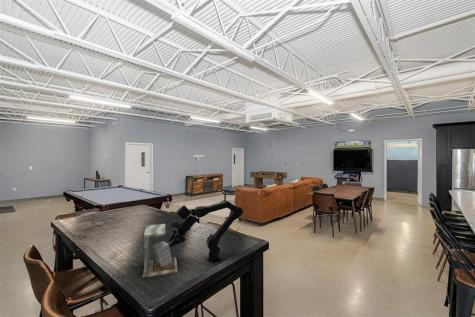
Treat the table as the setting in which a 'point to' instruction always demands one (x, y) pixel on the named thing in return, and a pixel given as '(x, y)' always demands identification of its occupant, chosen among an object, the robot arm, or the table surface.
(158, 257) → the supplement box
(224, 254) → the table surface
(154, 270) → the awning stand
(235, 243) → the table surface
